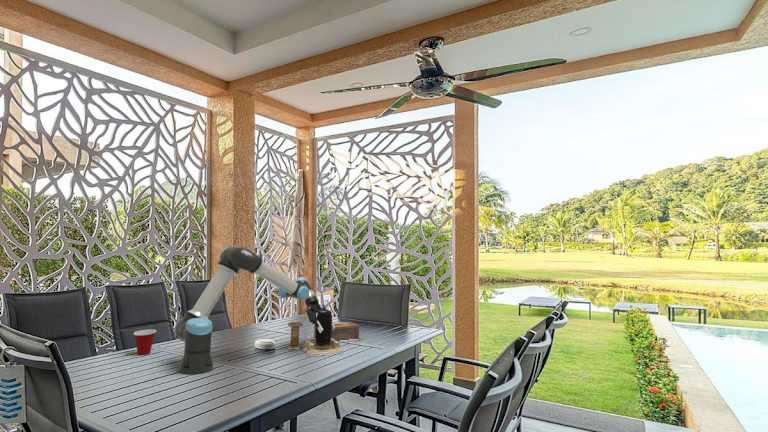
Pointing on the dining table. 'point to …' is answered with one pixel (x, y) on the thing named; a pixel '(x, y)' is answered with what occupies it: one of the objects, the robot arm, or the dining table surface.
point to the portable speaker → (324, 327)
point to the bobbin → (294, 335)
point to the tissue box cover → (343, 331)
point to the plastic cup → (144, 341)
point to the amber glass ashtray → (321, 347)
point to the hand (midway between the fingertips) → (327, 330)
